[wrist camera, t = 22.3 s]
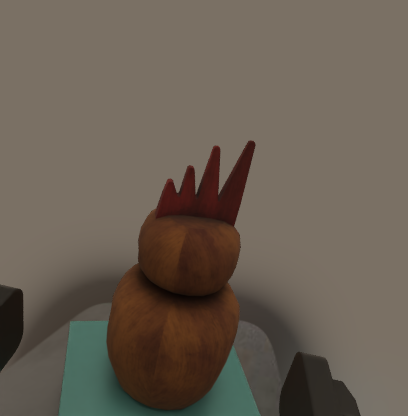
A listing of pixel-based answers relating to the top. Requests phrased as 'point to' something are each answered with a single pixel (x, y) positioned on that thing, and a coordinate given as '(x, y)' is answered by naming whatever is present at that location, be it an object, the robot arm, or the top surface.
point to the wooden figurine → (180, 291)
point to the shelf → (121, 401)
